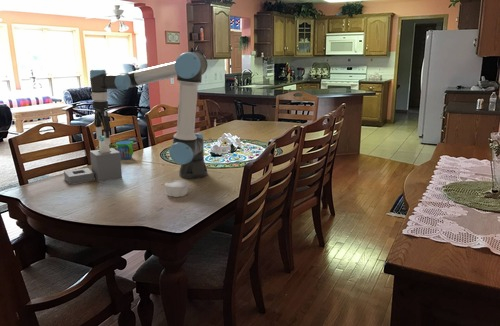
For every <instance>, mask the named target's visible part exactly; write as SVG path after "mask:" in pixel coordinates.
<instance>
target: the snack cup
mask: <svg viewBox="0 0 500 326" xmlns="http://www.w3.org/2000/svg"><path fill="white" fill-rule="evenodd" d="M134 144H135V143H134V141H133V140H119V141H116V142H115V144H114V145H117V146H118V147H117V151H119V152H120V159H121V160H128V159H131V158H132V157H133V154H134V150H133V146H134Z"/></svg>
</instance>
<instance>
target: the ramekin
mask: <svg viewBox="0 0 500 326" xmlns="http://www.w3.org/2000/svg"><path fill="white" fill-rule="evenodd" d="M189 186H190V185H189V182H188V181H186V180H181V179H175V180H169V181H166V182H165V183H164V187H165V193H166V195H167V196H168V195H169V196H168V197H171V196H174V197H173V198H180V197H179V196H181V197H184V196H186V195H187V194H188V189H189Z"/></svg>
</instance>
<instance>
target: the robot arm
mask: <svg viewBox="0 0 500 326" xmlns="http://www.w3.org/2000/svg"><path fill="white" fill-rule="evenodd" d="M207 69H208V60H207V58H206V57H205V55H203V54H202V53H200V52H196V51H195V52H193V51H185V52H183V53H181V54H179V56H178V57H176V59H175V61H173V62H168V63H164V64H159V65H155V66H151V67H147V68H146V67H145V68H143V69H137V70H133V71H129V72H122V73H107V72H106V71H107V70H106V69H102V68H100V69H98V68H97V69H95V68H93V69H90V71H89V81H90V88H91V89H90V90H91V94H90V96H91V99H92V102H91V103H92V109H94V122H93V125H94V127H95V134H96V140H98V141H99V138H98V136H104V143H105V144H110V145H111V133H110V132H111V129H112V127H111V125H110V118H109V115H108V114H109V113H108V111H106V110H107V109H109V101H108V100H109V94H108V90H121V91H123V90H124V91H125V90H128V89H129V88H134V87H137V86H141V85H146V84H152V83H156V82H159V81H165V80H170V79H174V78H176V81H177V82H178V84H179V93H178V107H177V109H178V110H177V124H176V133H174V134H173V136H172V137H173V138H172V144H171V146H170V148H169V151H168V152H169V153H168V154H169V156H170V158H171V160H172V161H173V163H176V164H178V165H180V168H179V177H180V178H183V179H200V178H201V179H202V178H204V177H207V176H208V168H207V165H206V163H205V156H204V155H205V153H204V152H205V151H204V150H205V149H204V141H205V139H204V135H203V133H199V132H195V130H196V129H195V126H196V112H197V102H198V92H199V91H198V89H199V85H201V83H202V78H203V77H202V76H203V75H204V74H205V73H206V71H207ZM102 128H103V130H102Z"/></svg>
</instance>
